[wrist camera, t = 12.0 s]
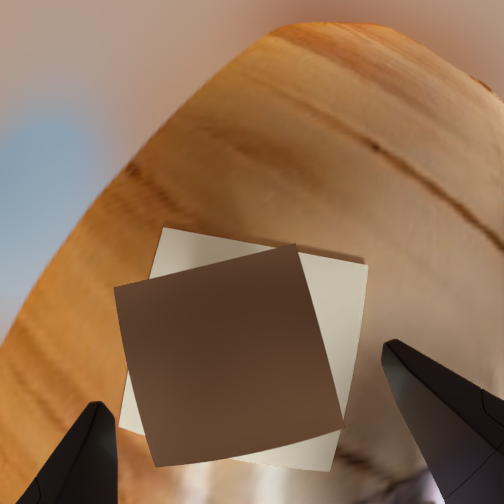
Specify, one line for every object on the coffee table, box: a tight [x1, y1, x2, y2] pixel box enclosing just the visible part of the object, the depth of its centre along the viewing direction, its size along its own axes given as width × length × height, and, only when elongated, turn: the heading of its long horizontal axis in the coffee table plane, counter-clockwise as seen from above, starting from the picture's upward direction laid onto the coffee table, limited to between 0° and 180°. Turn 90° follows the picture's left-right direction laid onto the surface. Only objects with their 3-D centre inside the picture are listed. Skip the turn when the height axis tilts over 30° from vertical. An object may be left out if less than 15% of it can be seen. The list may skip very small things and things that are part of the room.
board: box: [119, 227, 368, 472], centre depth 19 cm, size 14×14×1 cm
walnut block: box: [114, 244, 345, 467], centre depth 13 cm, size 5×5×12 cm
